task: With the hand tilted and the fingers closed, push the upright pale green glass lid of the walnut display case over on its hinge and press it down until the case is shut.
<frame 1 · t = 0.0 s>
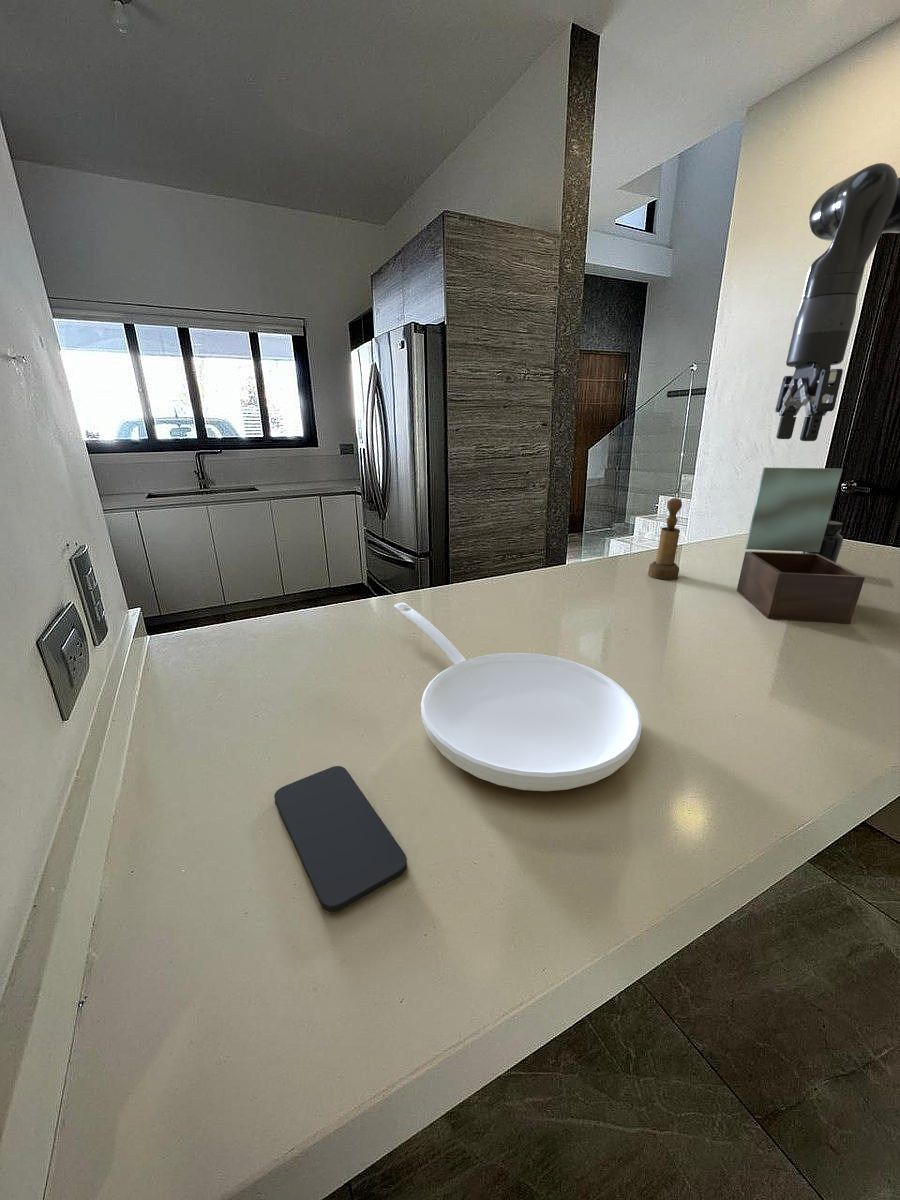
hand: (794, 439, 81), 31 cm above the countertop, tool pointing down, fingers open, 8 cm apart
pan: (478, 695, 65), on the countertop
glass lid: (791, 510, 95), point 17 cm above the countertop, hinge at 90.0°
case: (788, 605, 94), on the countertop
phone: (336, 832, 43), on the countertop
supplement bottle: (815, 571, 116), on the countertop
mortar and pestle: (662, 576, 113), on the countertop
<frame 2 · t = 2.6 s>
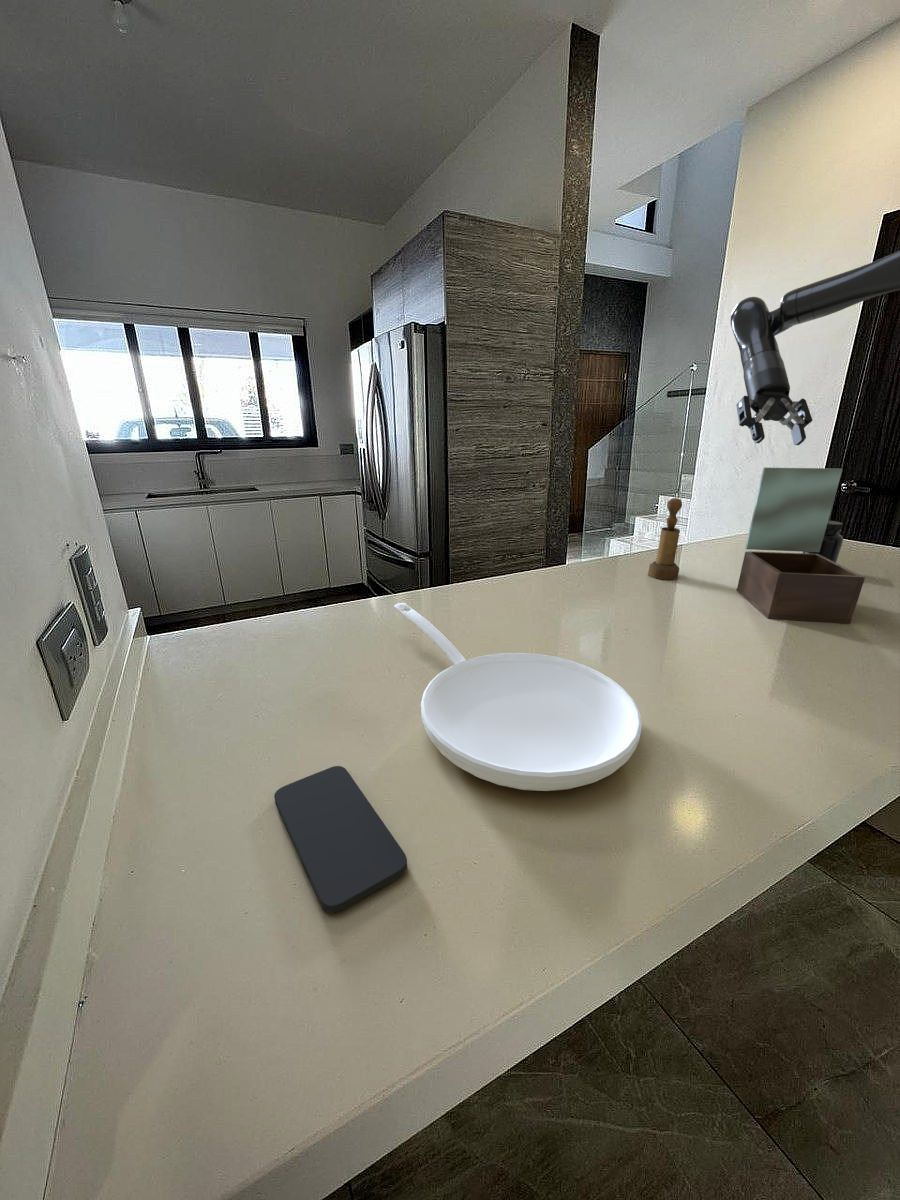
hand: (780, 442, 99), 30 cm above the countertop, tool tilted 40°, fingers open, 8 cm apart
nothing on the countertop moved.
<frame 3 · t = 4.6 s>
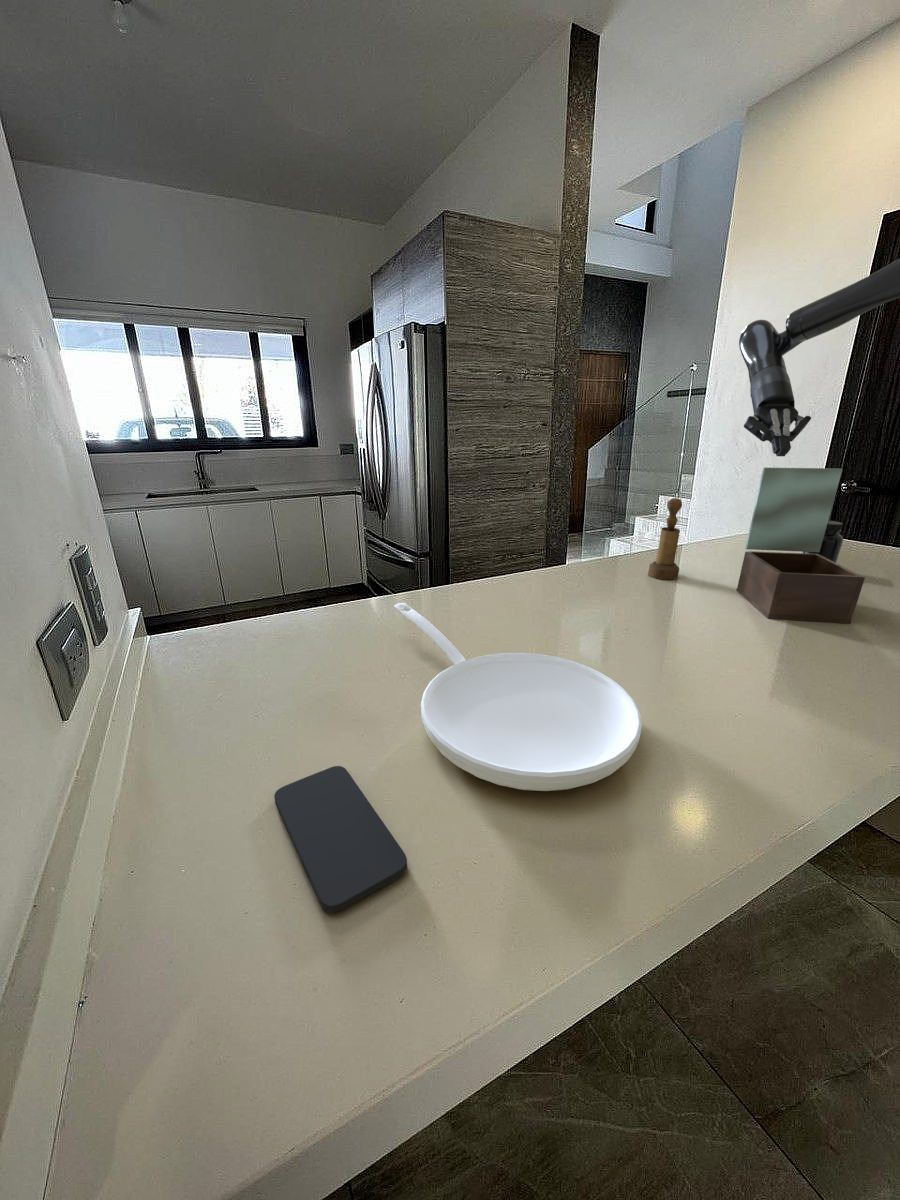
hand: (782, 453, 101), 28 cm above the countertop, tool tilted 45°, fingers closed
nothing on the countertop moved.
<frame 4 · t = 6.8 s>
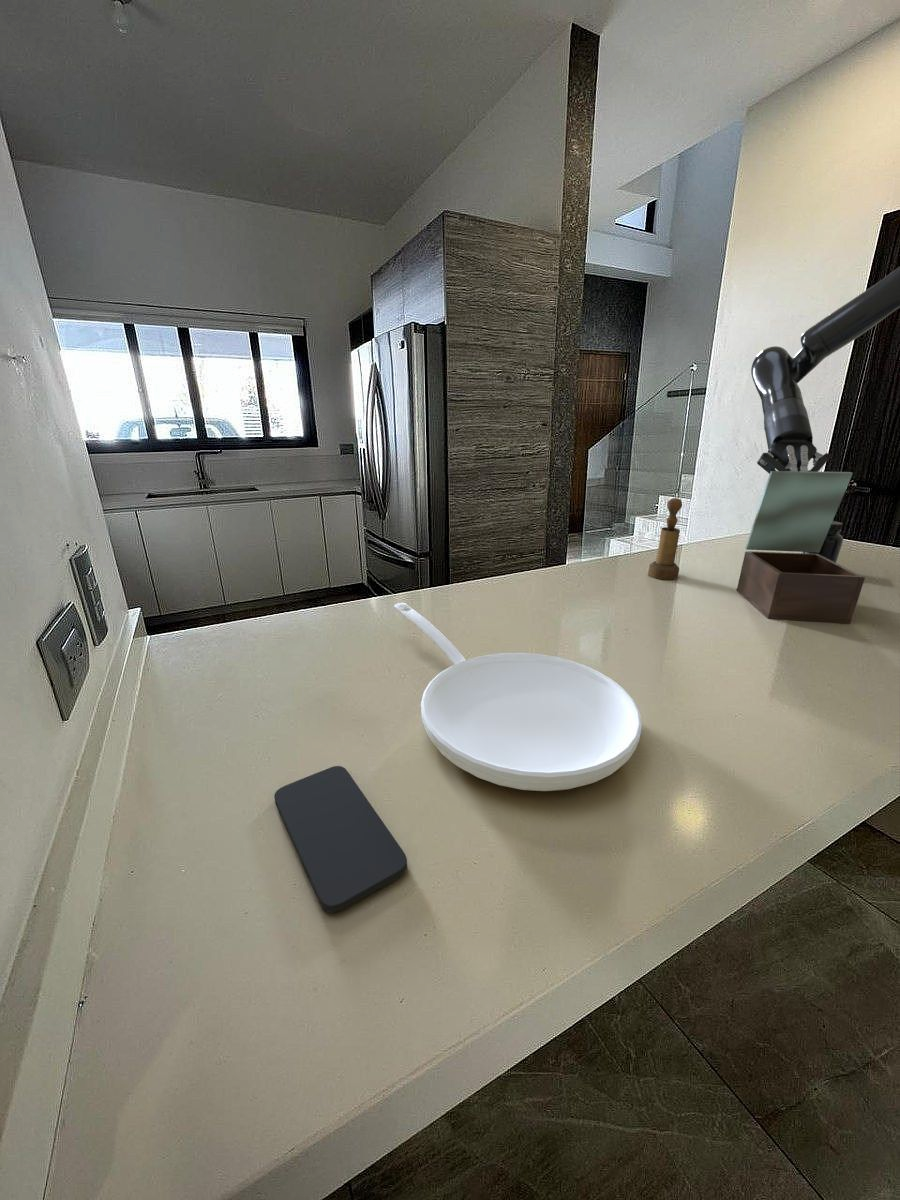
hand: (800, 495, 93), 21 cm above the countertop, tool tilted 45°, fingers closed
glass lid: (795, 513, 94), point 17 cm above the countertop, hinge at 77.7°, touching gripper
everything else where it was.
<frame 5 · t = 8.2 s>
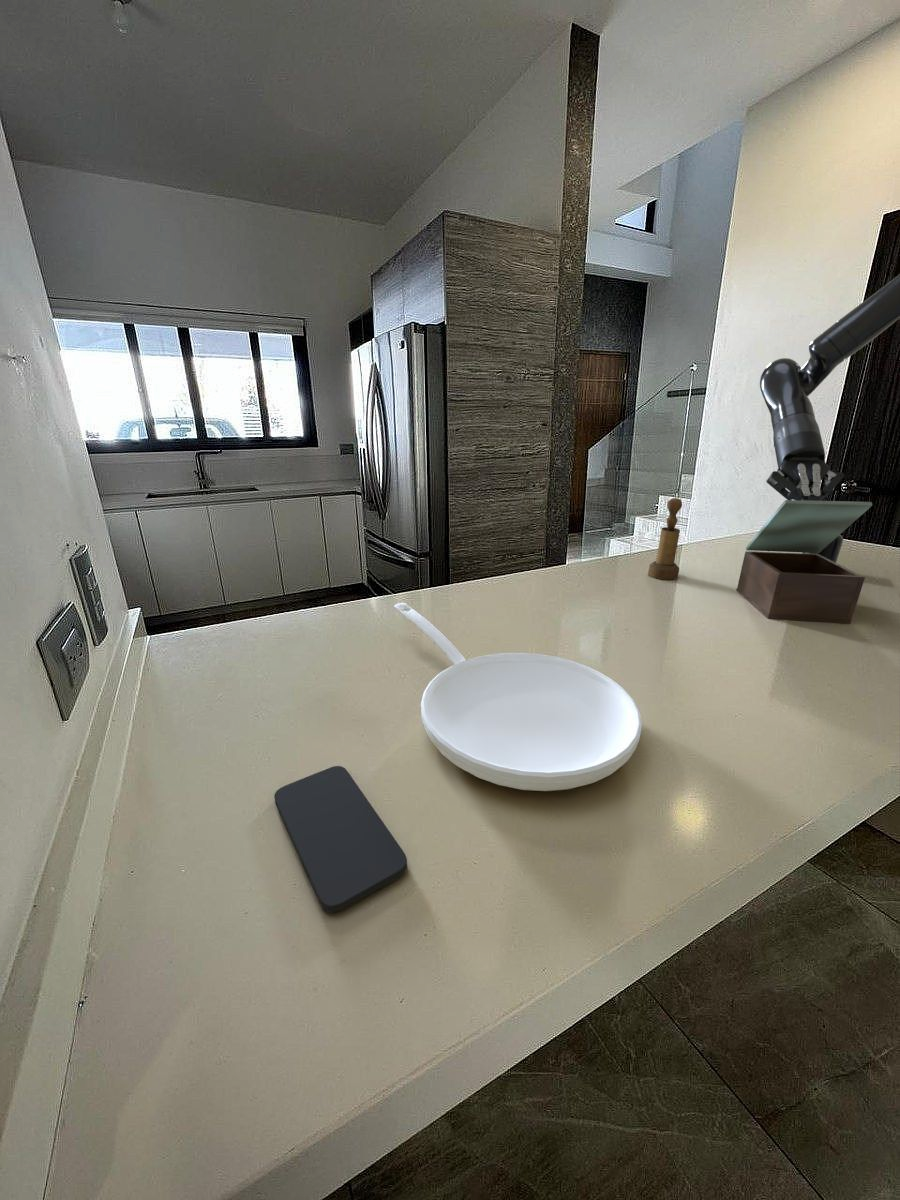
hand: (812, 516, 88), 18 cm above the countertop, tool tilted 45°, fingers closed
glass lid: (803, 528, 91), point 15 cm above the countertop, hinge at 45.3°
everything else where it was.
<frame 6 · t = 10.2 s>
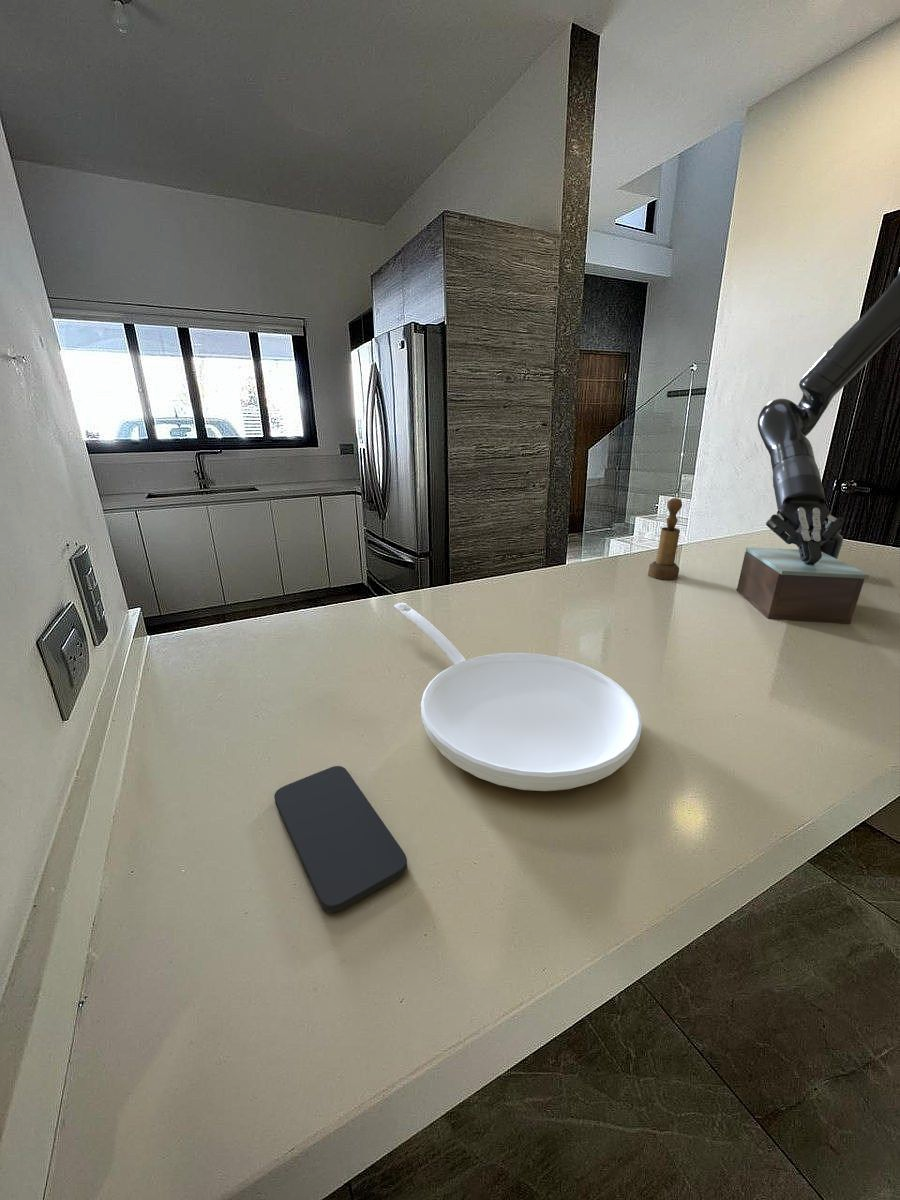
hand: (812, 562, 87), 10 cm above the countertop, tool tilted 45°, fingers closed
glass lid: (801, 561, 91), point 9 cm above the countertop, hinge at -0.2°, touching case, gripper
everything else where it was.
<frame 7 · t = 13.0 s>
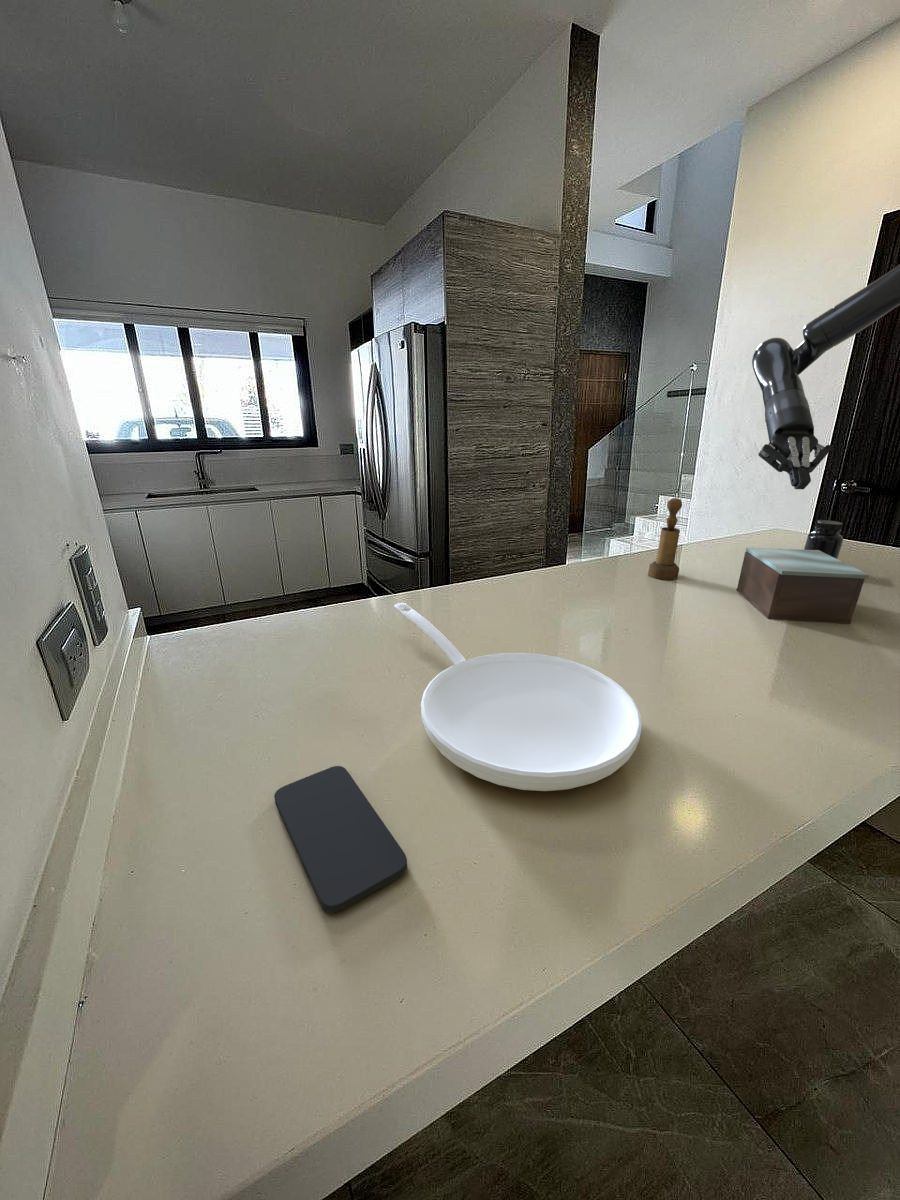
hand: (802, 486, 92), 22 cm above the countertop, tool tilted 45°, fingers closed
glass lid: (801, 561, 91), point 9 cm above the countertop, hinge at -0.2°, touching case
everything else where it was.
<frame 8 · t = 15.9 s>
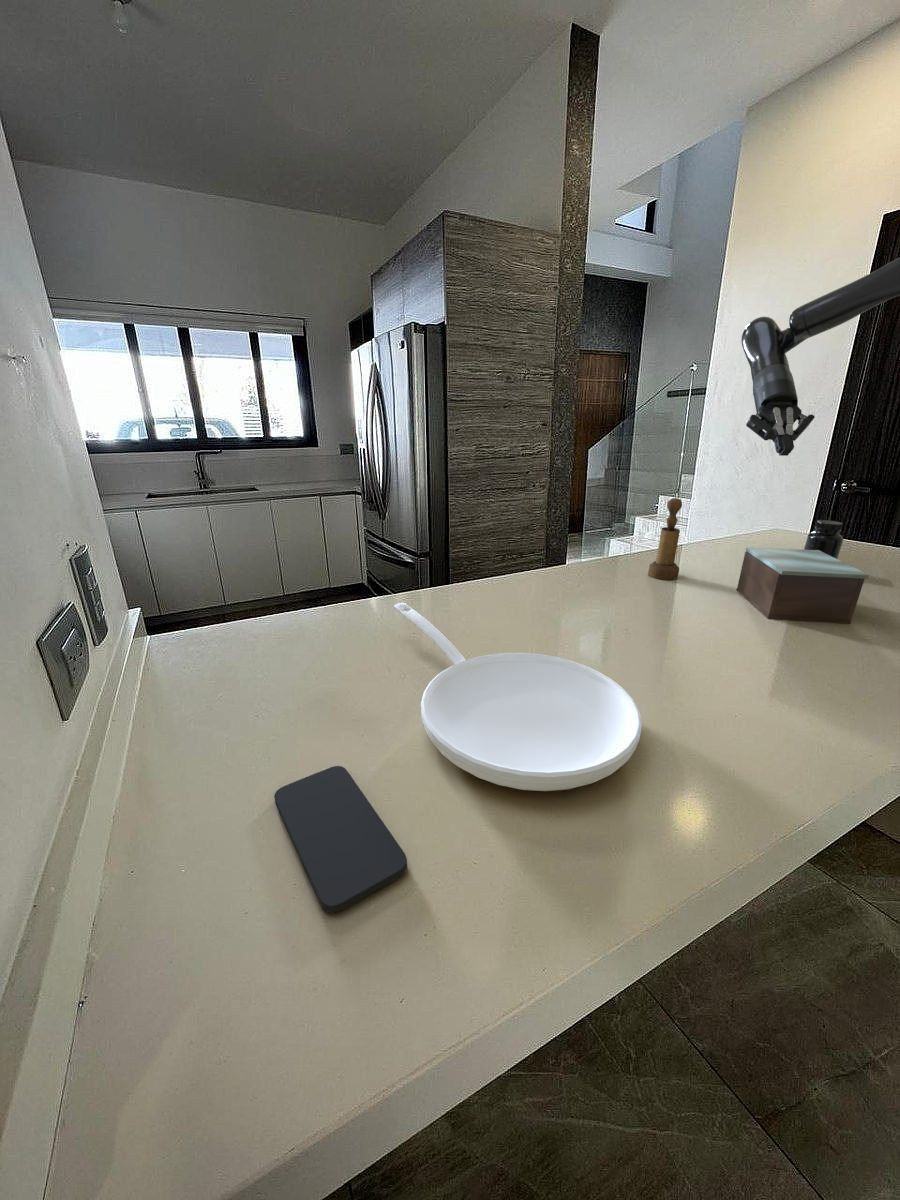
hand: (785, 452, 99), 28 cm above the countertop, tool tilted 45°, fingers closed
nothing on the countertop moved.
at the end: glass lid at +0° (first picture: +90°); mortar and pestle moved 0.2 cm from its start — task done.
